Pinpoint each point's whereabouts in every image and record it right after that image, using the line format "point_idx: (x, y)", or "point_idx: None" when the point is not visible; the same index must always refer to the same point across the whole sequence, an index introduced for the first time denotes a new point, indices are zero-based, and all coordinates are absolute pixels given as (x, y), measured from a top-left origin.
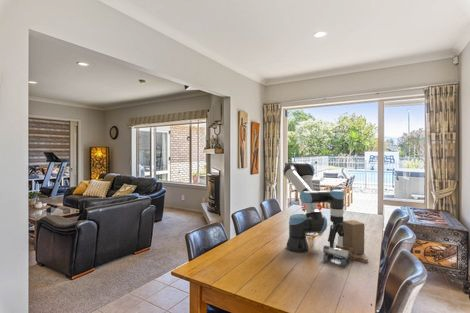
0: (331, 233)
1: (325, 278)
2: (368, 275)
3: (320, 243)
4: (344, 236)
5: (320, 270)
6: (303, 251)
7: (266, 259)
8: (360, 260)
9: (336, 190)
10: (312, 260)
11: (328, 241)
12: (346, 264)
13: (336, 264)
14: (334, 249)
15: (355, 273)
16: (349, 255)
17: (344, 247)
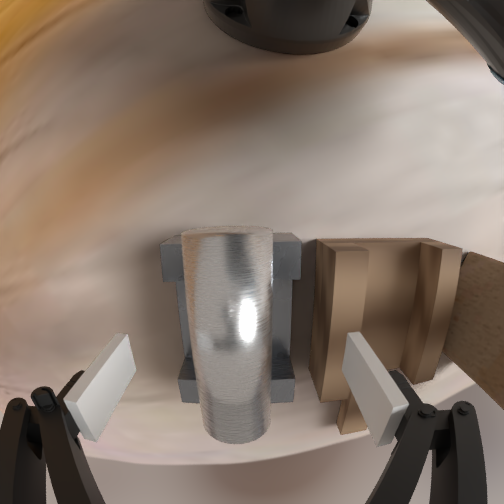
0: (9, 491)
1: (22, 328)
2: (190, 453)
3: (475, 100)
4: None
5: (53, 281)
6: (243, 40)
7: (31, 22)
8: (343, 404)
9: None
10: (136, 166)
11: (18, 401)
12: None
13: (182, 331)
14: (203, 357)
15: (163, 421)
16: (317, 387)
17: (429, 319)
